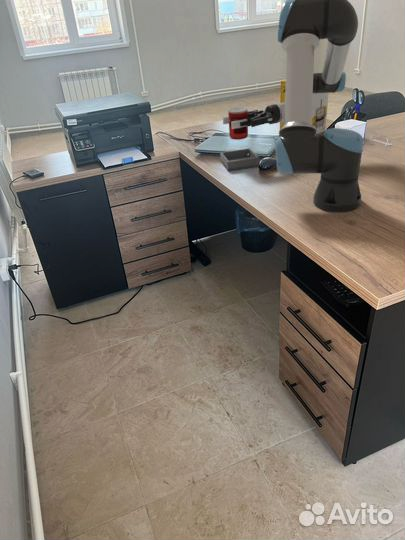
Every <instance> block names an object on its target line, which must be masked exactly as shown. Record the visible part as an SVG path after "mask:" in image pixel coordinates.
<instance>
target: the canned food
mask: <svg viewBox="0 0 405 540" xmlns="http://www.w3.org/2000/svg"><path fill="white" fill-rule="evenodd" d="M248 111H249V110H248V108H247V107H242V106H241V107H240V106H239V107H232V108H229V109H228V116H229V123H228V129H229V130H228V133H229V134H228V135H229V138H230V139H231V140H237V141H238V140H239V141H240V140H244V139H247V138H248V136H249V126H248V125H247V126H245V127H240V128H235V129H232V126H231V122H232V121H238V120H243V119H247V121H248Z"/></svg>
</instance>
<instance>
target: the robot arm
mask: <svg viewBox="0 0 405 540" xmlns="http://www.w3.org/2000/svg"><path fill="white" fill-rule="evenodd" d="M358 28H359V18H358V14H357V11H356V9H355V8H354V6H353V5H352V3H351V2H350V1H349V0H284V1H283V3H282V5H281V8H280V12H279V20H278V29H277V42H278V43H281V48H282V50H283V51H284V52H286V60H285V65H286V66H285V80H286V84H285V102H284V103H280V102H279V103H275V104H274V103H273V104H270V105H267V106H266V107H265V109H264V110H258V109H254V110H248V121H247V119H243V120H238V121H232V122H231V126H232V129H235V128H240V127H245V126H247V125H248V127H251V128H254V127H259V126H261V125H265V124H267V125H268V124H269V125H273V124H278V123H280V122H282V123H284V126H283V127H282V128H281V129H280V128H279V131H278V135H277V136H274V147H275V150H274V151H275V160H276V169H277V171H278V173H280V174H283V175H284V174H287V175H288V174H289V175H294V174H295V175H297V174H298V175H299V174H301V175H302V174H320V180H319V182H318V184H317V187H316V188H315V192H314V194H313V201H312V202H313V204H314V205H315V206H316V207H317V208H319V209H321V210H324V211H328V212H336V213H337V212H339V213H340V212H349V211H352V210H355V209H357V208H359V207H360V206H361V202H362V194H361V188H360V184H359V176H360V175H359V174H360V168H361V161H362V155H363V154H362V153H363V152H364V149H363V146H364V138H363V136H362V134H361V133H359V132H357V131H354V130H351V129H347V128H340V127H332V128H327V129H325V131H324V132H323V134H321V135H320V134H316V128H315V127H314V126H313V125H312V98H313V93H328V94H329V93H333V94H335V93H340V92H343V91H344V90H345V86H346V81H347V80H346V79H347V77H346V76H347V75H346V71H344V68H345V66H346V61H347V57H348V54H349V50H350V46H351V43H352V42H354V39H355V38H356V36H357V32H358V30H359V29H358ZM325 39H326V40H327V43H326V50H325V55H324V61H323V65H322V66H323V67H322V72H314V64H315V63H314V61H315V49H316V48H318V47H319V45H320V41H321V40H325ZM222 125H229V116H224V117H223V116H222Z"/></svg>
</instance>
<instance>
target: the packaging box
mask: <svg viewBox="0 0 405 540" xmlns="http://www.w3.org/2000/svg"><path fill="white" fill-rule="evenodd" d="M285 84H286V79H283V80H281V81H280V100H279V101H280V102H279V103H284V102H285ZM328 102H329V93H313V98H312V125H313V126H314V127H315V128H316V135H320V134H321V133H324V132H325V130H326V124H327V115H328ZM283 126H284V123H282V122H279V130H280V129H281V128H282V127H283Z"/></svg>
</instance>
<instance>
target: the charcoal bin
mask: <svg viewBox="0 0 405 540" xmlns="http://www.w3.org/2000/svg"><path fill="white" fill-rule="evenodd" d="M248 153H249V156H247V154H248ZM219 156H220V157H219V158H220V162H221V164H222V165H223V167H224V168H225V170H226V171H227V172H233V171H239V170H245V169H247V170H248V169H253V168H254V169H255V168H259V167H260V156H258V154H256V152H255V151H254V150H253V149H251V147H250V148H241V149H236V150H235V149H233V150H228V151H221V152H220V153H219Z"/></svg>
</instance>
